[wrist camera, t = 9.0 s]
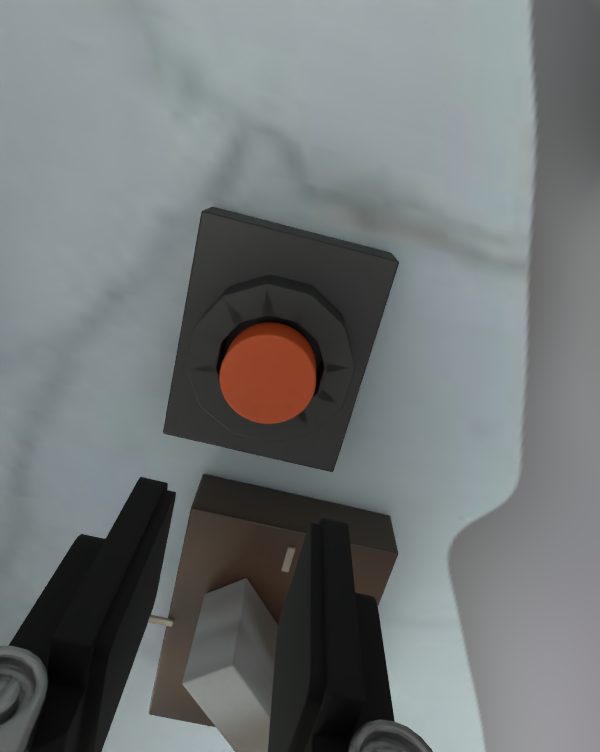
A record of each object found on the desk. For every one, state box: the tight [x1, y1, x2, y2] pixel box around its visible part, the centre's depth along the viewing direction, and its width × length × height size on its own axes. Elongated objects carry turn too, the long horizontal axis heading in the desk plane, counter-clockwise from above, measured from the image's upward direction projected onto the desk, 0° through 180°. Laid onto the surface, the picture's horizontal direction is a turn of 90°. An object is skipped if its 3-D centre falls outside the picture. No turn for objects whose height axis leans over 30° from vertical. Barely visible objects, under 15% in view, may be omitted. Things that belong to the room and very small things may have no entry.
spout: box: [182, 578, 278, 752], centre depth 25 cm, size 8×2×5 cm, turn 26°
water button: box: [219, 322, 316, 424], centre depth 21 cm, size 4×4×2 cm
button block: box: [163, 207, 399, 472], centre depth 23 cm, size 10×8×4 cm
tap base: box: [148, 474, 398, 727], centre depth 29 cm, size 14×12×3 cm
